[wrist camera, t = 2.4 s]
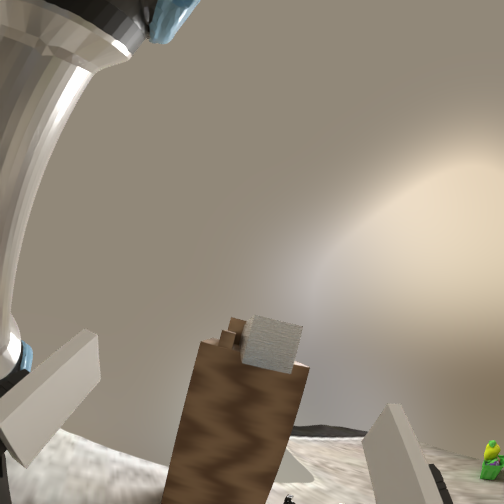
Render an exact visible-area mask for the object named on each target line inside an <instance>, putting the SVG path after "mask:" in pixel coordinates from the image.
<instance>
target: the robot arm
mask: <svg viewBox="0 0 504 504" xmlns="http://www.w3.org/2000/svg"><path fill="white" fill-rule="evenodd" d="M199 2H200V0H0V504H12V502H11V497H10V491H9V484H8V477H7V468H6V458H5V454H4V452H5V451H6V450H8V452H9V453H10V455H11V456H12V458H14V459H15V460H16V461H17V462H18V463H20V464H21V465H22V466H23V467H25V468H26V469H27V467H28V466H29V465H30V464H31V462H32V461H33V460H34V459H35V457H36V456H37V455H38V454H39V452H40V451H41V450H42V449H43V448H44V446H45V445H46V444H47V443H48V441H49V440H50V439H51V438H52V437H53V435H54V434H55V433H56V432H57V431H58V429H59V428H60V427H61V426H62V425H63V423H64V422H65V421H66V420H67V419H68V417H69V416H70V415H71V414H72V413H73V412H74V410H75V409H76V408H77V407H78V406H79V404H80V403H81V402H82V401H83V400H84V398H85V397H86V396H87V395H88V394H89V393H90V392H91V390H92V389H93V388H94V387H95V386H96V385H97V384H98V382H99V381H100V380H101V375H100V363H99V350H98V334H96V333H93V332H91V331H89V330H87V329H83V330H82V331H81V332H80V333H78V334H77V335H76V336H74V337H73V338H72V339H71V340H69V341H68V342H67V343H66V344H64V345H63V346H62V347H61V348H60V349H58V350H57V351H56V352H54V353H53V354H52V355H51V356H50V357H48V358H47V359H46V360H45V361H43V363H41V364H40V365H39V366H37V367H36V368H35V369H34V370H33V371H31V372H30V370H31V364H32V358H33V351H32V349H31V347H30V346H29V345H27V344H26V343H25V342H24V341H22V340H21V336H20V331H19V328H18V325H17V323H16V321H15V319H14V317H13V316H12V314H11V303H12V295H13V288H14V281H15V275H16V270H17V264H18V259H19V254H20V249H21V245H22V241H23V237H24V233H25V229H26V225H27V222H28V218H29V215H30V211H31V208H32V205H33V202H34V198H35V196H36V192H37V190H38V187H39V184H40V181H41V179H42V176H43V173H44V171H45V168H46V165H47V163H48V161H49V158H50V156H51V154H52V151H53V149H54V147H55V145H56V142H57V140H58V138H59V136H60V134H61V132H62V129H63V128H64V126H65V124H66V122H67V120H68V118H69V116H70V114H71V112H72V110H73V108H74V106H75V105H76V103H77V101H78V99H79V98H80V96H81V94H82V93H83V91H84V89H85V88H86V86H87V84H88V83H89V81H90V79H91V78H92V76H93V75H94V74H95V73H96V72H98V71H99V70H101V69H103V68H106V67H109V66H112V65H116V64H119V63H122V62H125V61H128V60H129V59H130V58H131V56H132V55H133V54H134V52H135V51H136V50H137V49H138V47H139V46H140V45H141V43H142V42H143V41H144V40H145V39H146V38H147V39H149V41H150V42H152V43H160V44H166V43H168V42H170V41H171V40H172V38H173V37H174V35H175V33H176V32H177V31H178V30H179V28H180V27H181V26H182V24H183V23H184V22H185V20H186V19H187V18H188V16H189V15H190V13H191V12H192V11H193V9H194V8H195V7H196V6H197V4H198V3H199ZM361 442H362V445H363V449H364V453H365V457H366V461H367V465H368V469H369V474H370V478H371V482H372V486H373V491H374V495H375V500H376V504H453V502H452V499H451V497H450V494H449V492H448V489H446V488H447V487H446V484H445V482H443V481H444V480H443V477H442V475H441V473H440V471H439V470H438V469H437V468H436V467H435V465H434V464H429V465H428V463H427V461H426V459H425V456H424V454H423V452H422V449H421V447H420V445H419V442H418V440H417V438H416V436H415V433H414V431H413V429H412V427H411V425H410V423H409V421H408V418H407V416H406V414H405V412H404V410H403V408H402V406H401V404H390V403H387V405H386V407H385V408H384V409H383V411H382V413H381V414H380V416H379V417H378V419H377V420H376V422H375V423H374V425H373V426H372V427H371V429H370V430H369V432H368V433H367V434H366V436H365V437H364V439H363V440H362V441H361Z"/></svg>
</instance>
